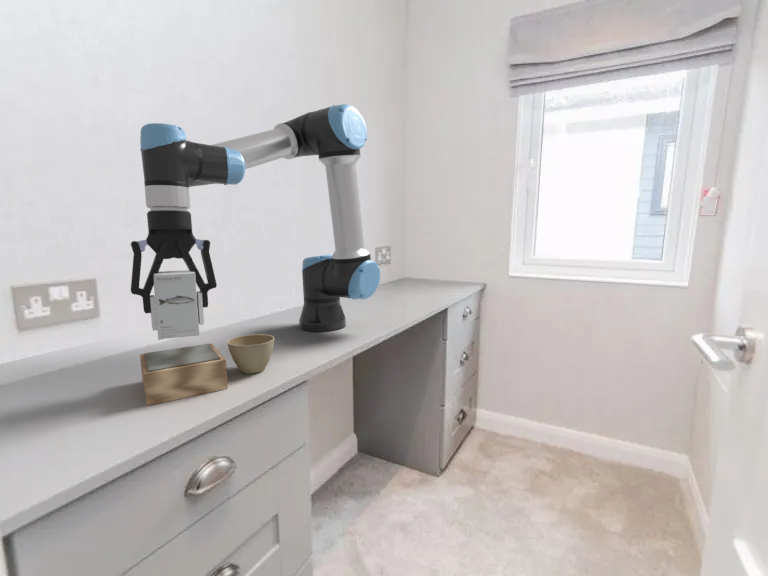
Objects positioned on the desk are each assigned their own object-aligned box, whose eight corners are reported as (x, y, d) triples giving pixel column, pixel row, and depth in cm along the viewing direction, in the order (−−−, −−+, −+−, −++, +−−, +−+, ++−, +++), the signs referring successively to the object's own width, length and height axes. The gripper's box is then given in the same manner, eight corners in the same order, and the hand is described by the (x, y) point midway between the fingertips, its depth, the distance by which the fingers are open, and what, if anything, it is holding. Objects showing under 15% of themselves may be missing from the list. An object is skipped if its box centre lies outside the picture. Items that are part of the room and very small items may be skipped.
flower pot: (284, 365, 94) (283, 335, 93) (258, 380, 85) (256, 347, 84) (248, 361, 97) (247, 332, 96) (219, 375, 88) (217, 343, 87)
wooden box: (213, 368, 92) (211, 342, 91) (227, 388, 81) (225, 358, 80) (142, 382, 84) (139, 353, 84) (146, 405, 73) (143, 372, 72)
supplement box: (157, 341, 76) (151, 274, 74) (158, 332, 82) (153, 271, 81) (200, 336, 79) (195, 272, 77) (198, 328, 86) (193, 269, 84)
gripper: (221, 212, 86) (227, 316, 89) (104, 209, 75) (117, 329, 78) (229, 210, 80) (236, 322, 83) (104, 207, 69) (117, 337, 72)
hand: (178, 326), depth 81 cm, fingers closed on supplement box, 8 cm apart
